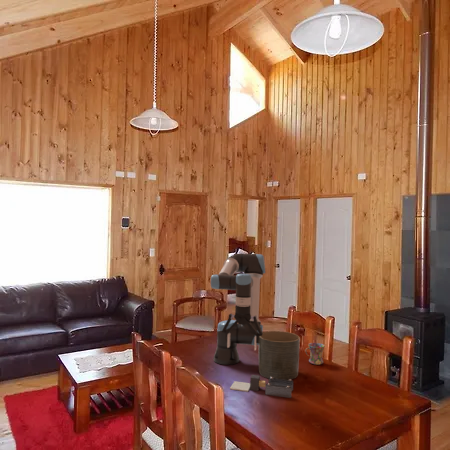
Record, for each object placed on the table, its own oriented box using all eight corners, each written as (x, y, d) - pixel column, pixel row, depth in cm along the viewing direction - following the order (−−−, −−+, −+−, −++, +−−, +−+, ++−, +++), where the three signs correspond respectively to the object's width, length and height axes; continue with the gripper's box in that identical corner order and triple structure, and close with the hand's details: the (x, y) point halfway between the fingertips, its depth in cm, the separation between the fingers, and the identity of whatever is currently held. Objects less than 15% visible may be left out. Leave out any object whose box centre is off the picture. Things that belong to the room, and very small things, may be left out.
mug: (318, 359, 238) (319, 342, 238) (327, 365, 229) (327, 346, 230) (301, 361, 234) (301, 343, 235) (309, 366, 226) (309, 348, 226)
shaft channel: (265, 394, 186) (265, 383, 186) (268, 386, 196) (269, 376, 196) (290, 398, 183) (291, 387, 183) (293, 389, 193) (293, 379, 193)
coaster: (229, 389, 191) (229, 388, 191) (234, 382, 200) (234, 381, 200) (248, 391, 189) (248, 390, 189) (251, 384, 198) (251, 383, 198)
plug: (250, 389, 191) (250, 377, 191) (251, 386, 195) (252, 374, 195) (264, 391, 189) (264, 379, 189) (265, 388, 193) (266, 376, 193)
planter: (303, 370, 220) (304, 334, 220) (292, 384, 200) (293, 344, 200) (265, 363, 229) (266, 329, 230) (251, 376, 209) (252, 338, 209)
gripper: (216, 304, 195) (215, 347, 195) (266, 308, 189) (265, 353, 188) (220, 302, 202) (219, 343, 202) (269, 305, 196) (268, 348, 196)
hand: (241, 348), depth 195 cm, fingers open, 13 cm apart
